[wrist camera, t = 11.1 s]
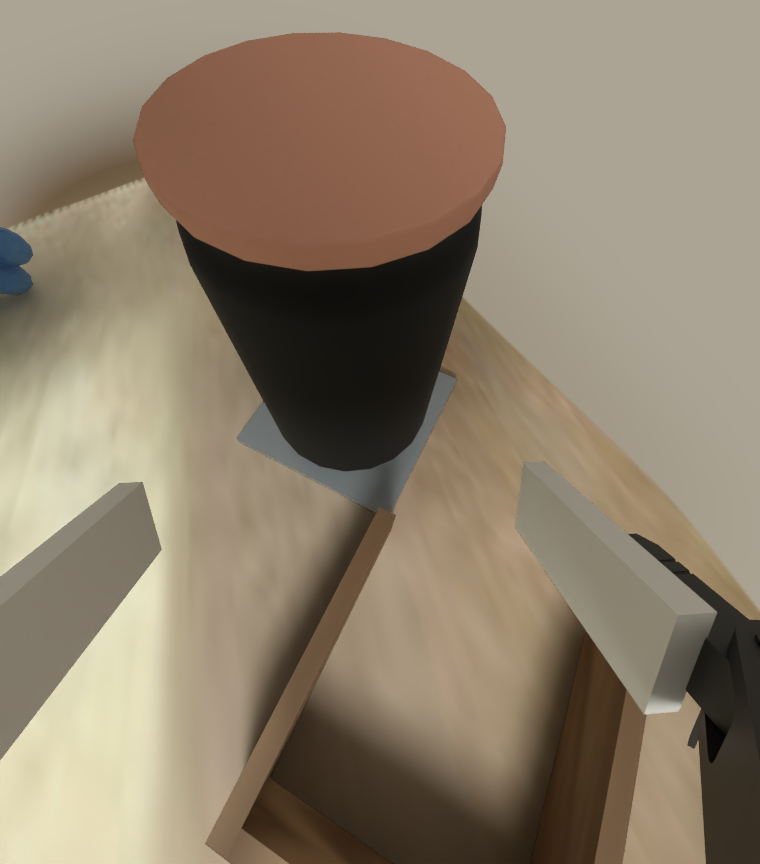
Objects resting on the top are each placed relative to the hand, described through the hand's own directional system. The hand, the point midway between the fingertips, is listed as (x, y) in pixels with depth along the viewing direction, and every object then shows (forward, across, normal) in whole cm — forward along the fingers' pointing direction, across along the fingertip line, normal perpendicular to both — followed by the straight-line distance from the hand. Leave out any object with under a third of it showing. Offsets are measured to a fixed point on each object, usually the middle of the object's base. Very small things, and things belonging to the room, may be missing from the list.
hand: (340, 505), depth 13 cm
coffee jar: (+15, 0, -1) cm, 15 cm away
